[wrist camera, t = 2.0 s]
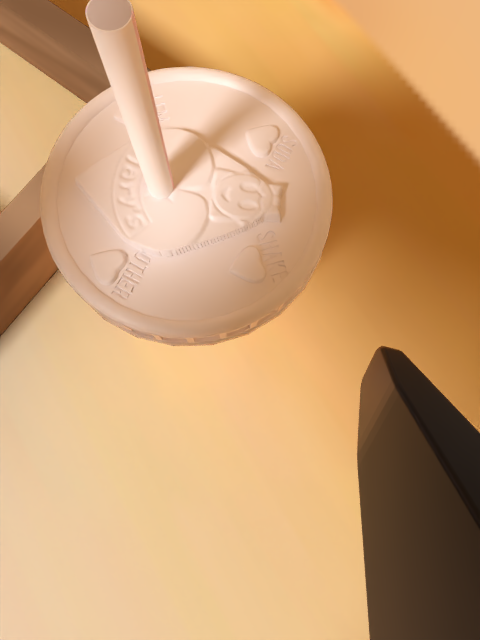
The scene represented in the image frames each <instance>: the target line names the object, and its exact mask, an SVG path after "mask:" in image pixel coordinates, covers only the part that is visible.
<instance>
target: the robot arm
mask: <svg viewBox="0 0 480 640" xmlns="http://www.w3.org/2000/svg"><path fill="white" fill-rule="evenodd" d="M357 463H358V479H359V493H360V507H361V521H362V535H363V549H364V563H365V577H366V591H367V606H368V620H369V634H370V640H480V433H479V432H478V431H477V430H476V429H475V427H474V426H473V425H472V424H471V423H470V422H469V421H468V420H467V419H466V418H465V417H464V416H463V415H462V414H461V413H460V412H459V411H458V410H457V409H456V408H455V407H454V406H453V404H452V403H451V402H450V401H449V400H448V399H447V398H446V397H445V396H444V395H443V394H442V393H441V392H440V391H439V390H438V389H437V388H436V387H435V386H434V385H433V384H432V382H431V381H430V380H429V379H428V378H427V377H426V376H425V375H424V374H423V373H422V372H421V371H420V370H419V369H418V368H417V367H416V366H415V365H414V364H413V363H412V362H411V360H410V359H409V358H408V357H407V356H406V355H405V354H404V353H403V352H402V351H400V350H397V349H393V348H389V347H385V346H381V347H379V348H378V349H377V350H376V352H375V354H374V356H373V358H372V360H371V362H370V364H369V366H368V368H367V370H366V372H365V374H364V377H363V379H362V383H361V391H360V409H359V427H358V446H357Z"/></svg>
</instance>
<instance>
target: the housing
mask: <svg viewBox="0 0 480 640" xmlns="http://www.w3.org/2000/svg"><path fill="white" fill-rule="evenodd" d="M0 42H1V43H2V44H3V45H5V46H6V47H8V48H9V49H11V50H12V51H13V52H15V53H16V54H18V55H19V56H21V57H22V58H23V59H25V60H26V61H28V62H29V63H30V64H32V65H33V66H35V67H36V68H38V69H39V70H40V71H42V72H43V73H45V74H46V75H48V76H49V77H50V78H52V79H53V80H55V81H56V82H58V83H59V84H60V85H62V86H63V87H65V88H66V89H68V90H69V91H70V92H72V93H73V94H75V95H76V96H77V97H79V98H80V99H82V100H83V101H85V102H86V103H88V102H89V101H91V100H92V99H93V98H95V97H96V96H97V95H99V94H100V93H101V92H103V91H105V90H106V89H108V88H110V87H111V85H110V82H109V79H108V77H107V74H106V71H105V68H104V66H103V63H102V60H101V57H100V54H99V52H98V49H97V46H96V43H95V41H94V38H93V35H92V32H91V29H90V28H88V27H87V26H85V25H84V24H82V23H81V22H79V21H78V20H77V19H75V18H74V17H72V16H71V15H69V14H68V13H66V12H65V11H63V10H62V9H60V8H59V7H58V6H56V5H55V4H53V3H52V2H50V1H49V0H0ZM147 71H148V72H149V71H151V70H150V69H148V68H147ZM46 164H47V163H46ZM46 164H45V165H44V166H43V168H42V169H41V170H40V171H39V172H38V173H37V174H36V175H35V176H34V177H33V178H32V180H31V181H30V182H29V183H28V184H27V185H26V186H25V187H24V188H23V189H22V190H21V191H20V193H19V194H18V195H17V196H16V197H15V198H14V199H13V200H12V201H11V202H10V203H9V205H8V206H7V207H6V208H5V209H4V210H3V211H2V212H1V213H0V336H1V334H2V333H3V332H4V331H5V330H6V329H7V327H8V326H9V325H10V324H11V323H12V322H13V320H14V319H15V318H16V317H17V316H18V315H19V314H20V312H21V311H22V310H23V309H24V308H25V307H26V305H27V304H28V303H29V302H30V301H31V300H32V298H33V297H34V296H35V295H36V294H37V293H38V291H39V290H40V289H41V288H42V287H43V286H44V285H45V283H46V282H47V281H48V280H49V279H50V278H51V276H52V275H53V274H54V273H55V272H56V271H57V269H58V267H57V265H56V264H55V262H54V260H53V258H52V256H51V253H50V251H49V248H48V246H47V243H46V239H45V236H44V233H43V227H42V222H41V212H40V194H41V185H42V179H43V175H44V171H45V167H46Z"/></svg>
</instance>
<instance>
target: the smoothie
mask: <svg viewBox="0 0 480 640" xmlns="http://www.w3.org/2000/svg"><path fill="white" fill-rule="evenodd" d="M85 14H86V18H87V21H88V24H89V27H90V29H91V32H92V35H93V38H94V41H95V43H96V46H97V49H98V52H99V54H100V57H101V60H102V63H103V66H104V68H105V71H106V74H107V77H108V79H109V82H110V85H111V87H110V88H108V89H106V90H105V91H103V92H101V93H100V94H99V95H97V96H96V97H95V98H93V99H92V100H91V101H89V102H88V103H87V104H86V105H85V106H84V107H83V108H82V109H80V111H79V112H78V113H77V114H76V115H75V116H74V117H73V118H72V119H71V120H70V122H69V123H68V124H67V126H66V127H65V128H64V130H63V131H62V133H61V134H60V136H59V138H58V139H57V141H56V143H55V145H54V147H53V149H52V151H51V153H50V156H49V158H48V161H47V164H46V167H45V171H44V175H43V179H42V185H41V194H40V212H41V222H42V227H43V233H44V236H45V239H46V243H47V246H48V248H49V251H50V253H51V256H52V258H53V260H54V262H55V264H56V265H57V267H58V269H59V271H60V272H61V274H62V275H63V277H64V278H65V279H66V281H67V282H68V283H69V285H70V286H71V287H72V288H73V289H74V290H75V292H76V293H77V294H78V295H79V296H80V297H81V298H82V299H83V300H84V301H85V302H87V303H88V304H89V305H90V306H91V307H92V308H93V309H94V310H95V311H96V312H97V313H98V314H99V315H100V316H101V317H102V318H103V319H104V320H106V321H108V322H110V323H111V324H113V325H115V326H117V327H119V328H121V329H122V330H124V331H126V332H128V333H130V334H132V335H133V336H135V337H137V338H142V339H146V340H150V341H154V342H159V343H163V344H167V345H171V346H197V345H214V344H217V343H221V342H224V341H228V340H231V339H234V338H238V337H241V336H245V335H248V334H250V333H251V332H253V331H255V330H256V329H258V328H260V327H261V326H263V325H265V324H266V323H268V322H270V321H271V320H273V319H274V318H276V317H278V316H279V315H281V314H282V312H283V311H284V310H285V309H286V308H287V307H288V306H289V305H290V304H291V303H292V302H293V301H294V300H295V299H296V298H297V297H298V295H299V294H300V293H301V292H302V291H303V290H304V289H305V287H306V285H307V284H308V282H309V280H310V278H311V276H312V274H313V272H314V270H315V268H316V266H317V264H318V263H319V261H320V259H321V255H322V251H323V249H324V246H325V243H326V240H327V237H328V233H329V229H330V224H331V218H332V204H333V195H332V185H331V179H330V174H329V169H328V166H327V163H326V160H325V157H324V155H323V152H322V150H321V148H320V145H319V144H318V142H317V140H316V138H315V136H314V134H313V133H312V132H311V130H310V129H309V127H308V126H307V124H306V123H305V122H304V121H303V119H302V118H301V117H300V116H299V115H298V114H297V113H296V112H295V111H294V110H293V109H292V108H291V107H290V106H289V105H288V104H287V103H286V102H285V101H283V100H282V99H281V98H280V97H279V96H277V95H276V94H274V93H273V92H271V91H270V90H268V89H267V88H265V87H263V86H261V85H259V84H257V83H256V82H253V81H251V80H249V79H247V78H244V77H241V76H239V75H236V74H233V73H229V72H225V71H221V70H216V69H210V68H201V67H174V68H164V69H159V70H154V71H149V72H148V71H147V67H146V62H145V58H144V54H143V50H142V45H141V41H140V37H139V33H138V28H137V24H136V20H135V15H134V11H133V7H132V4H131V2H130V1H129V0H90V1H89V2H88V4H87V6H86V11H85Z"/></svg>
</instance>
